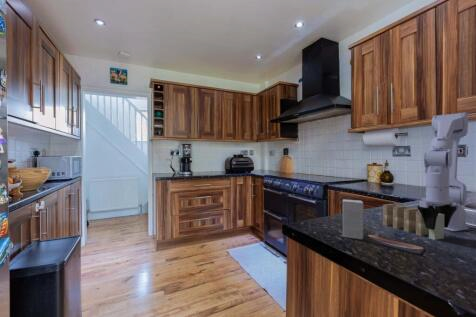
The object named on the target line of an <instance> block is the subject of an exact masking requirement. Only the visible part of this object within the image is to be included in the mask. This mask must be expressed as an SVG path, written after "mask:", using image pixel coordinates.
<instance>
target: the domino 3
mask: <svg viewBox="0 0 476 317" xmlns="http://www.w3.org/2000/svg"><path fill="white" fill-rule="evenodd" d="M416 211H419V210H418V208H414V207H411V208H406V209H404V228H403V231H404V232H407V233H411V232H416Z"/></svg>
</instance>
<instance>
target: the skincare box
mask: <svg viewBox="0 0 476 317" xmlns="http://www.w3.org/2000/svg"><path fill="white" fill-rule="evenodd" d="M342 237H343V238H348V239H354V240H355V239H357V240H362V239H363V238H364V202H363V201H362V200H356V199H342Z"/></svg>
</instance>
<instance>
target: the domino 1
mask: <svg viewBox="0 0 476 317" xmlns="http://www.w3.org/2000/svg"><path fill="white" fill-rule="evenodd" d="M395 206H397V205H396V204H394V203H387V204H386V203H385V204H382V225H383V226H389V227H390V226H393V207H395Z"/></svg>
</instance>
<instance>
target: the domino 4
mask: <svg viewBox="0 0 476 317" xmlns="http://www.w3.org/2000/svg"><path fill="white" fill-rule="evenodd" d="M415 235H417V236H420V237H422V236H427V235H428V236H429V229H427V228H426V227H425V223H424V220H423V217H422V215H421V213H420V211H419V210H418V211H416V231H415Z"/></svg>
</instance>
